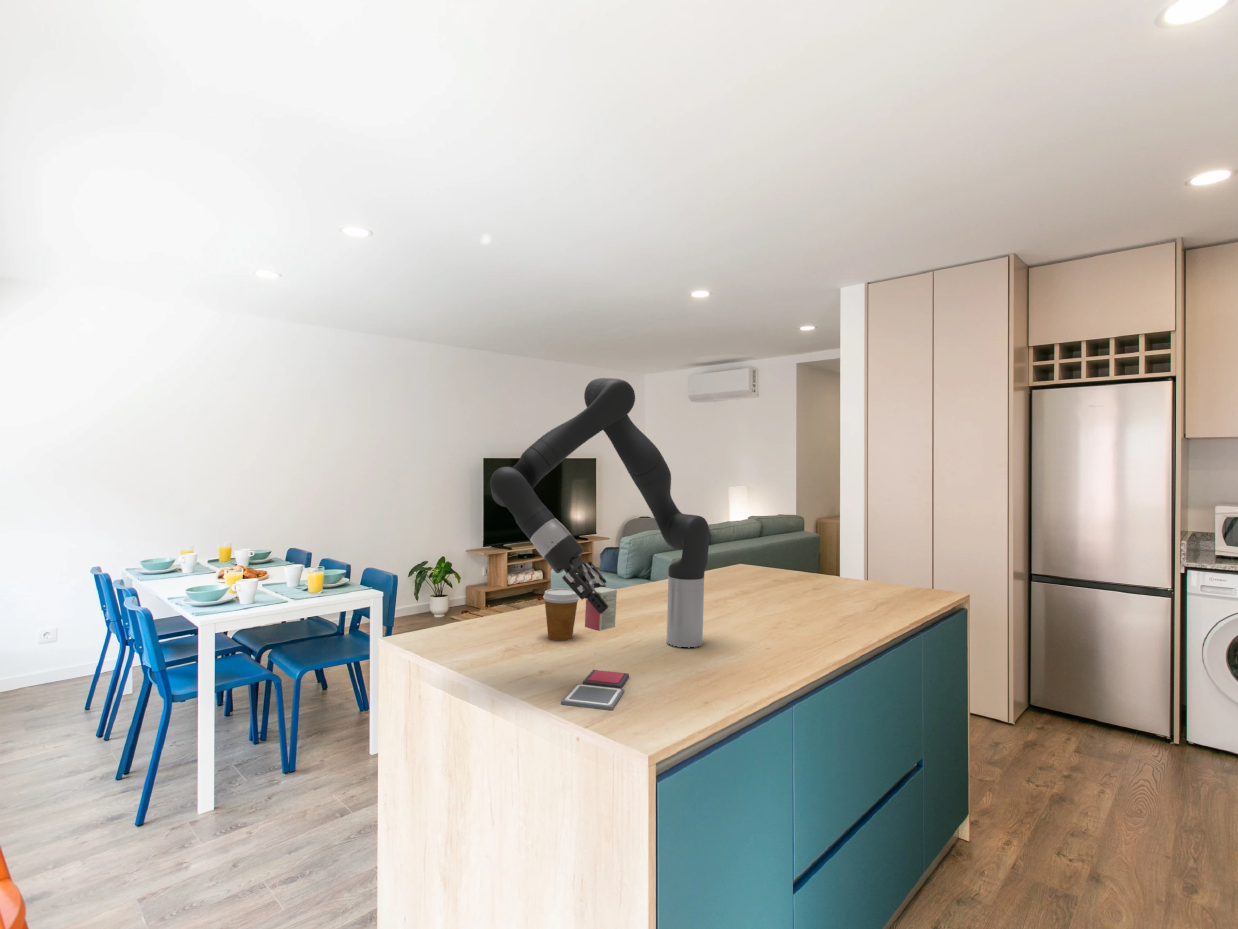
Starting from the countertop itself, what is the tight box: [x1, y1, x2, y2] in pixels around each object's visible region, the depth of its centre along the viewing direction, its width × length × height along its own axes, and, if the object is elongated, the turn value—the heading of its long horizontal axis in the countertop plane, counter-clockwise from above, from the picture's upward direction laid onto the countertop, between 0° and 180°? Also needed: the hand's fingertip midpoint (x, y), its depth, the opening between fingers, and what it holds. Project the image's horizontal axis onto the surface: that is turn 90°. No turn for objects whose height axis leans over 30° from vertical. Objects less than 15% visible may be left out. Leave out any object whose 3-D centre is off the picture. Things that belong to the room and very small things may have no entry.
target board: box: [560, 683, 625, 711], centre depth 125 cm, size 10×10×1 cm
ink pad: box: [582, 669, 630, 689], centre depth 134 cm, size 8×8×1 cm
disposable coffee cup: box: [542, 588, 580, 642], centre depth 167 cm, size 10×10×12 cm
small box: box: [584, 587, 618, 632], centre depth 131 cm, size 5×4×8 cm
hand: (609, 607), depth 130 cm, fingers closed on small box, 6 cm apart
